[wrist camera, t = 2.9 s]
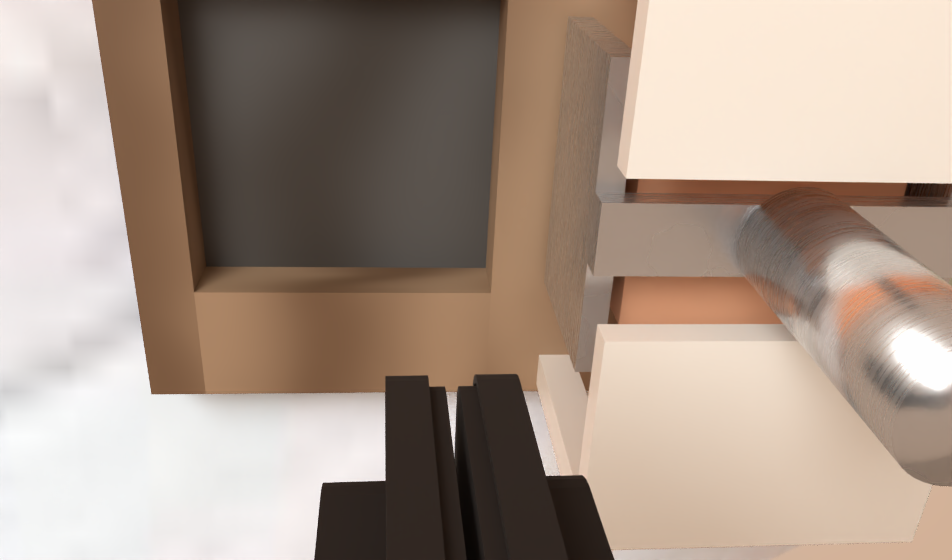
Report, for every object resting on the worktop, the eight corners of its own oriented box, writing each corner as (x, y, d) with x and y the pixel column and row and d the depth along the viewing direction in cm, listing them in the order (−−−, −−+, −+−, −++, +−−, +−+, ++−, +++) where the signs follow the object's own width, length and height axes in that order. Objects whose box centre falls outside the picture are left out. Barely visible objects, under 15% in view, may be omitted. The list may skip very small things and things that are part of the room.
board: (1287, -124, 22) (1365, -122, 20) (1084, 352, 28) (1129, 385, 27) (94, -187, 19) (63, -191, 17) (168, 356, 26) (151, 394, 24)
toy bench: (930, -142, 19) (1160, -141, 13) (796, 387, 26) (911, 542, 20) (585, -161, 19) (671, -168, 13) (535, 389, 25) (577, 551, 19)
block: (842, 54, 21) (932, 95, 18) (795, 253, 24) (866, 324, 20) (607, 47, 21) (651, 88, 17) (584, 252, 23) (618, 325, 19)
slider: (898, 27, 21) (1366, 187, 11) (832, 283, 24) (1146, 592, 14) (568, 16, 20) (738, 178, 10) (544, 282, 23) (655, 608, 13)
